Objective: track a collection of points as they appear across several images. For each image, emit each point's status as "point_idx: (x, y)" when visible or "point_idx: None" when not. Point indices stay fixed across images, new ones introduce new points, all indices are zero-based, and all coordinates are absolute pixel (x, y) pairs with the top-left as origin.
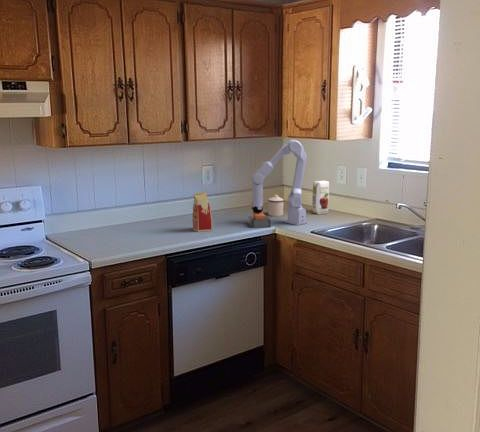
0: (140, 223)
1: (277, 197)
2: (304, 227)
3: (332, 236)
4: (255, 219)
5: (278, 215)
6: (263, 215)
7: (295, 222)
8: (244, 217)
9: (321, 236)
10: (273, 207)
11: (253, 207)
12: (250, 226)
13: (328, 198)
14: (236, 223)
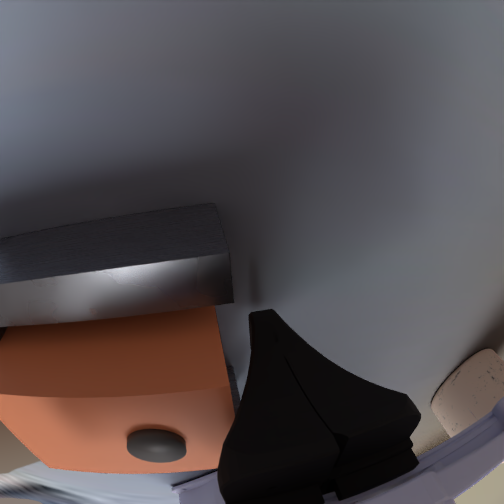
0: None
1: (502, 462)
2: (130, 494)
3: (21, 496)
4: (15, 346)
5: (433, 402)
6: (42, 457)
7: (195, 493)
8: (501, 195)
9: (2, 482)
10: (475, 416)
11: (332, 465)
12: (43, 230)
13: None
14: (257, 33)
